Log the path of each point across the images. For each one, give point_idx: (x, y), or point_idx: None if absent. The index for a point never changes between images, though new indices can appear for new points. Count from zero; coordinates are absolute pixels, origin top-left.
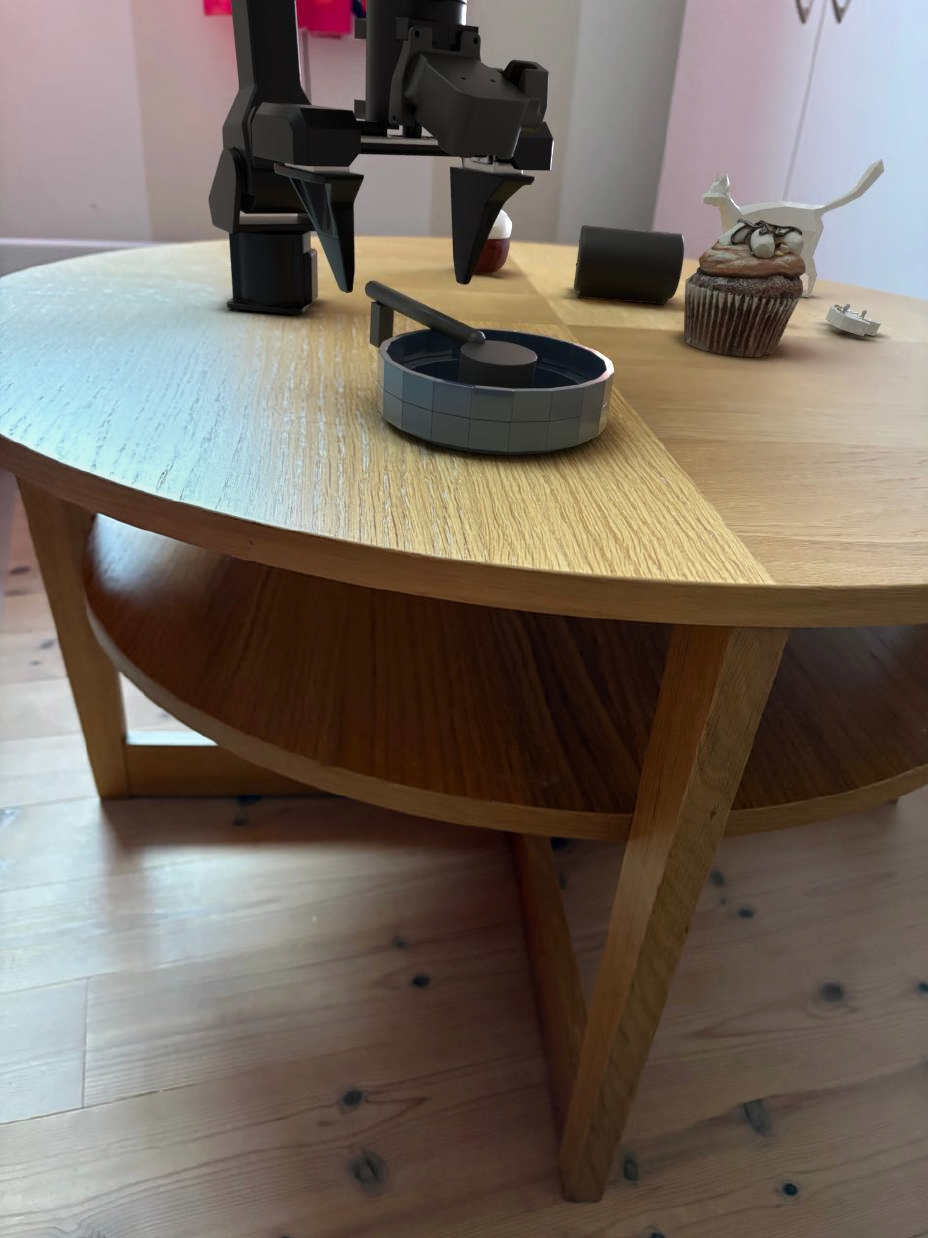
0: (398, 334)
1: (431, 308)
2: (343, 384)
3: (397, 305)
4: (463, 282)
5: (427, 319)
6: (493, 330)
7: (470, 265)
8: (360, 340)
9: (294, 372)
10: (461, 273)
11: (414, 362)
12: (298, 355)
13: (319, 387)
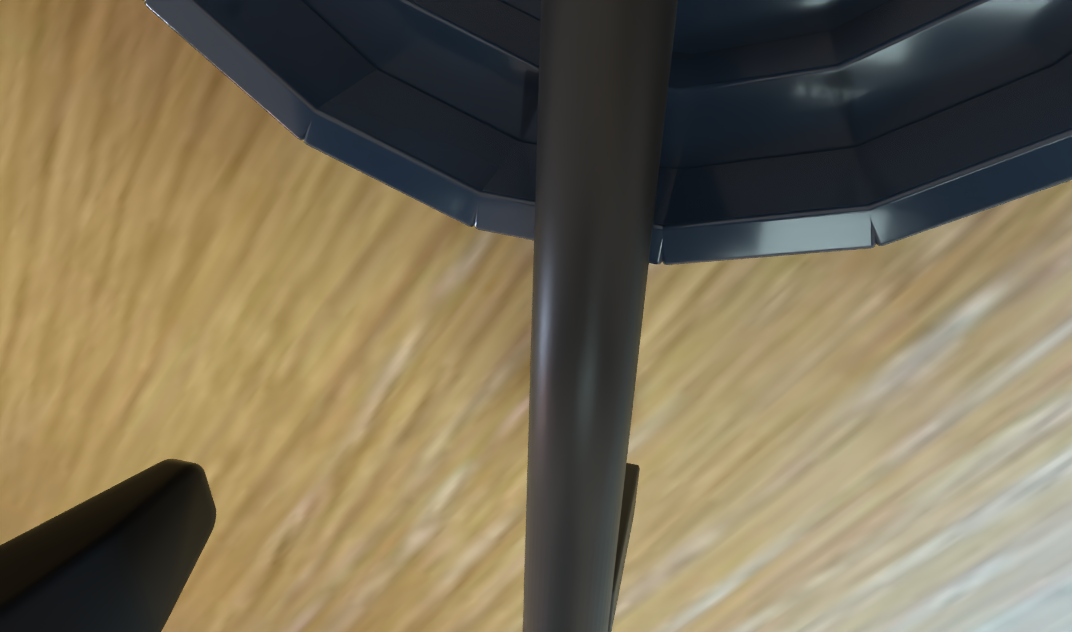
0: (883, 241)
1: (574, 319)
2: (908, 350)
3: (619, 513)
4: (199, 475)
5: (647, 259)
6: (272, 64)
7: (107, 522)
8: (503, 617)
9: (949, 526)
10: (175, 527)
11: (803, 118)
12: (787, 623)
13: (1025, 369)
